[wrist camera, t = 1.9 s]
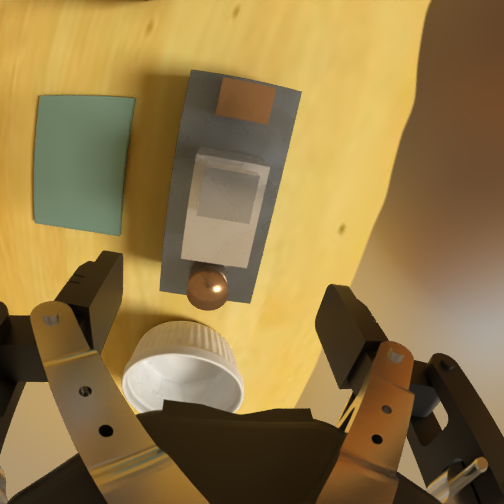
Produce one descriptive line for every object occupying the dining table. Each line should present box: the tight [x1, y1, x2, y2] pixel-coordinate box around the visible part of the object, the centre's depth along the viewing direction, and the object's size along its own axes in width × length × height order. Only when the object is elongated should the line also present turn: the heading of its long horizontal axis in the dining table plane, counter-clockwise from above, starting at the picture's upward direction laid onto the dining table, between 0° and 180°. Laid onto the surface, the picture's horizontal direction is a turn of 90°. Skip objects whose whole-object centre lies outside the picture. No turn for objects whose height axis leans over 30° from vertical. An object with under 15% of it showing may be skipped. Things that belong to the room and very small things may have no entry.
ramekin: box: [122, 321, 244, 413], centre depth 33 cm, size 13×13×7 cm
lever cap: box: [181, 147, 270, 268], centre depth 21 cm, size 7×4×5 cm, turn 169°
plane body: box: [160, 70, 302, 311], centre depth 24 cm, size 18×8×9 cm, turn 169°
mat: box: [34, 95, 136, 236], centre depth 25 cm, size 13×10×1 cm
